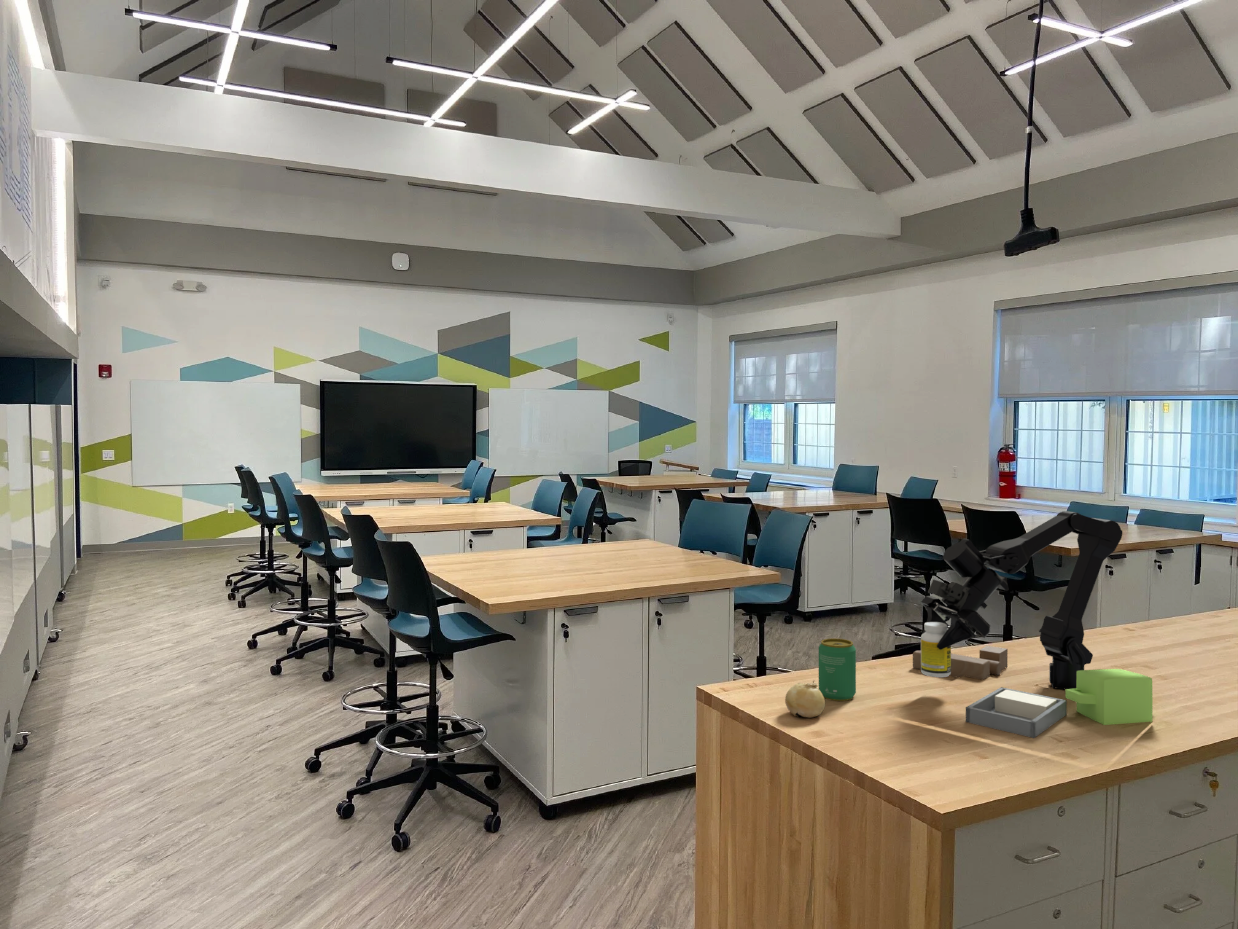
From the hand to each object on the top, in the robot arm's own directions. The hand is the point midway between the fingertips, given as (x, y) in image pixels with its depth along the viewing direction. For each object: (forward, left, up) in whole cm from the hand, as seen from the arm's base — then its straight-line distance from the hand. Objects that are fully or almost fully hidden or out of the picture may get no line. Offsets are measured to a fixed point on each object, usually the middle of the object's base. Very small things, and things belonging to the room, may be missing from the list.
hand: (929, 644), depth 187 cm
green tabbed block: (-35, -1, -12) cm, 37 cm away
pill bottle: (-1, -1, -7) cm, 7 cm away
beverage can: (+19, +6, -12) cm, 23 cm away
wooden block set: (-5, -27, -12) cm, 30 cm away
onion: (+23, +21, -12) cm, 33 cm away
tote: (-17, +9, -12) cm, 23 cm away
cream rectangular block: (-19, +5, -11) cm, 22 cm away
